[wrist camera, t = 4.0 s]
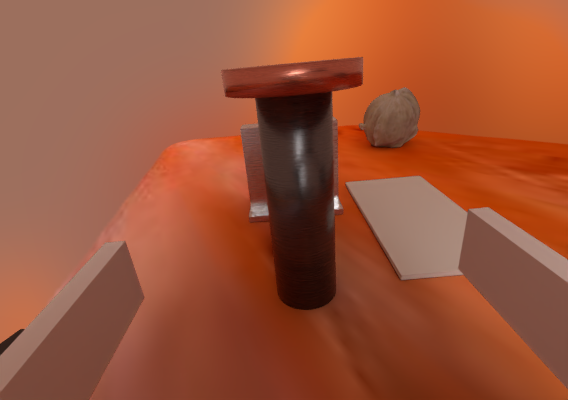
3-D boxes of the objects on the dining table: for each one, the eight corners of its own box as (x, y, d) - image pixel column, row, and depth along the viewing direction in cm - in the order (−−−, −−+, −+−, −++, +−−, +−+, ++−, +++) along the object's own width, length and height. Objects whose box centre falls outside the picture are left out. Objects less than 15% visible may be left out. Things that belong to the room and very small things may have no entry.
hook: (318, 181, 40) (313, 60, 34) (372, 322, 18) (383, 55, 12) (264, 186, 40) (249, 66, 34) (252, 333, 18) (208, 71, 12)
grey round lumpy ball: (405, 153, 55) (428, 97, 52) (412, 160, 47) (439, 93, 44) (354, 138, 57) (373, 82, 54) (352, 142, 49) (375, 76, 46)
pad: (419, 178, 38) (419, 175, 37) (532, 268, 21) (533, 263, 21) (345, 185, 38) (345, 182, 38) (400, 279, 21) (401, 275, 21)
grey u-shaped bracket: (334, 194, 35) (332, 114, 32) (343, 214, 31) (342, 122, 27) (252, 201, 36) (241, 122, 32) (249, 222, 31) (236, 132, 27)
